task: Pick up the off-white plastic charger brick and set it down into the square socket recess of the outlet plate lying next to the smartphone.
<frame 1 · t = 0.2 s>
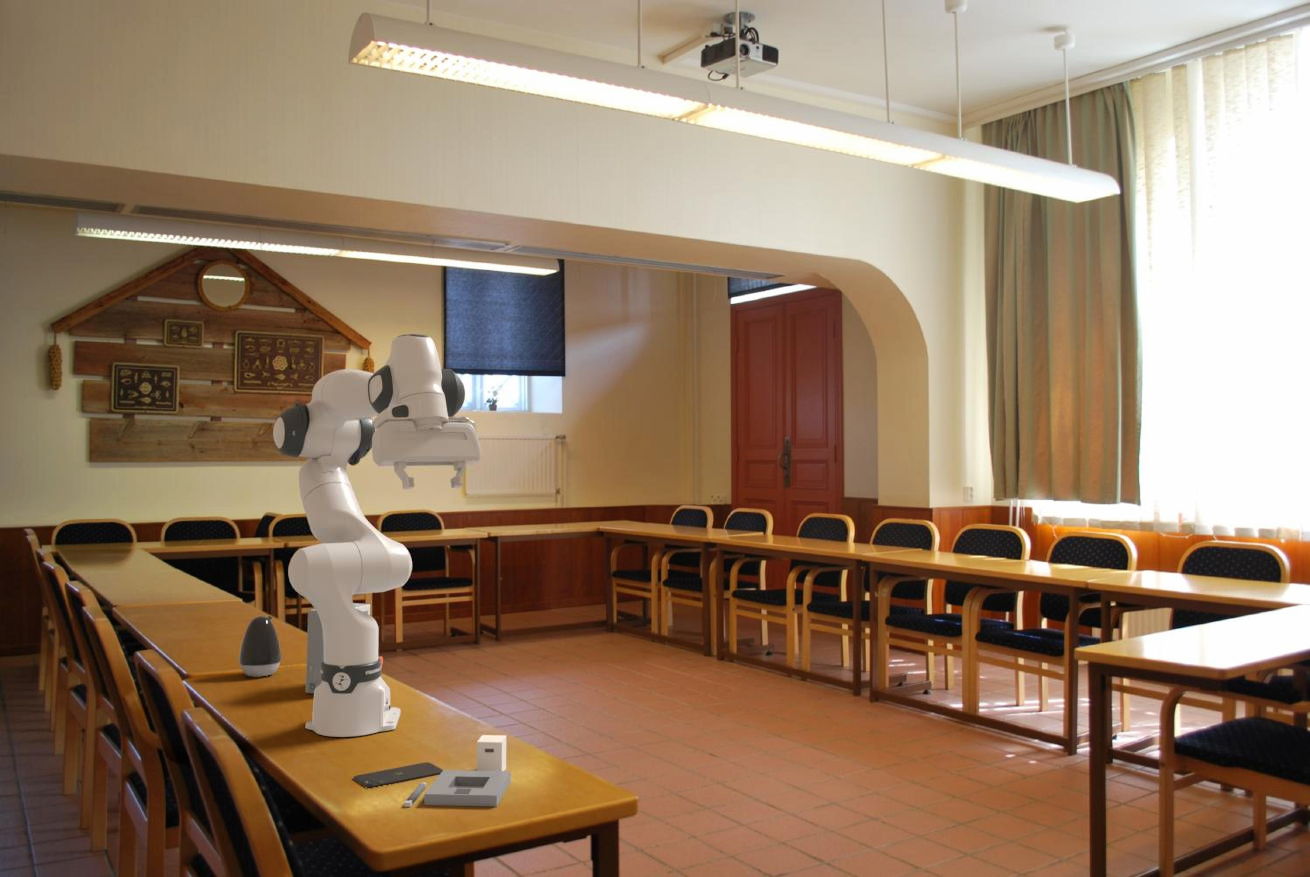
hand: (433, 487, 189), 52 cm above the table, tool tilted 20°, fingers open, 8 cm apart
hard drive box: (338, 689, 254), on the table
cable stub: (415, 797, 176), on the table
grey egg on base: (260, 675, 268), on the table
charger brick: (491, 771, 190), on the table
outlet plate: (469, 792, 178), on the table
smartphone: (399, 778, 187), on the table
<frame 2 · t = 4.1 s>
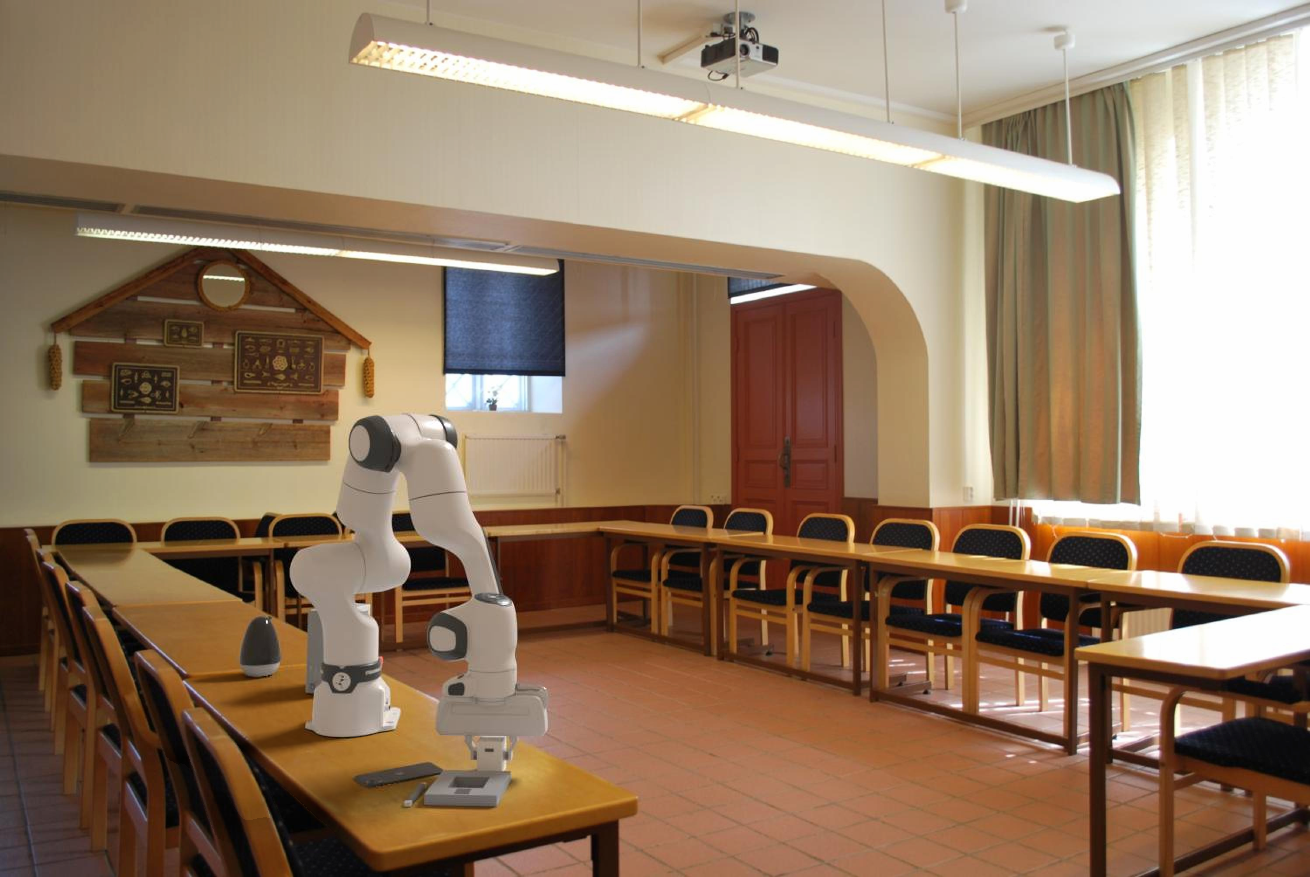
hand: (491, 759, 190), 2 cm above the table, tool pointing down, fingers closed on charger brick, 4 cm apart
charger brick: (491, 771, 190), on the table, touching gripper
everything else where it was.
when the fingers open (3 cm above the table, at t = 8.5 s): charger brick stays where it is, resting on outlet plate.
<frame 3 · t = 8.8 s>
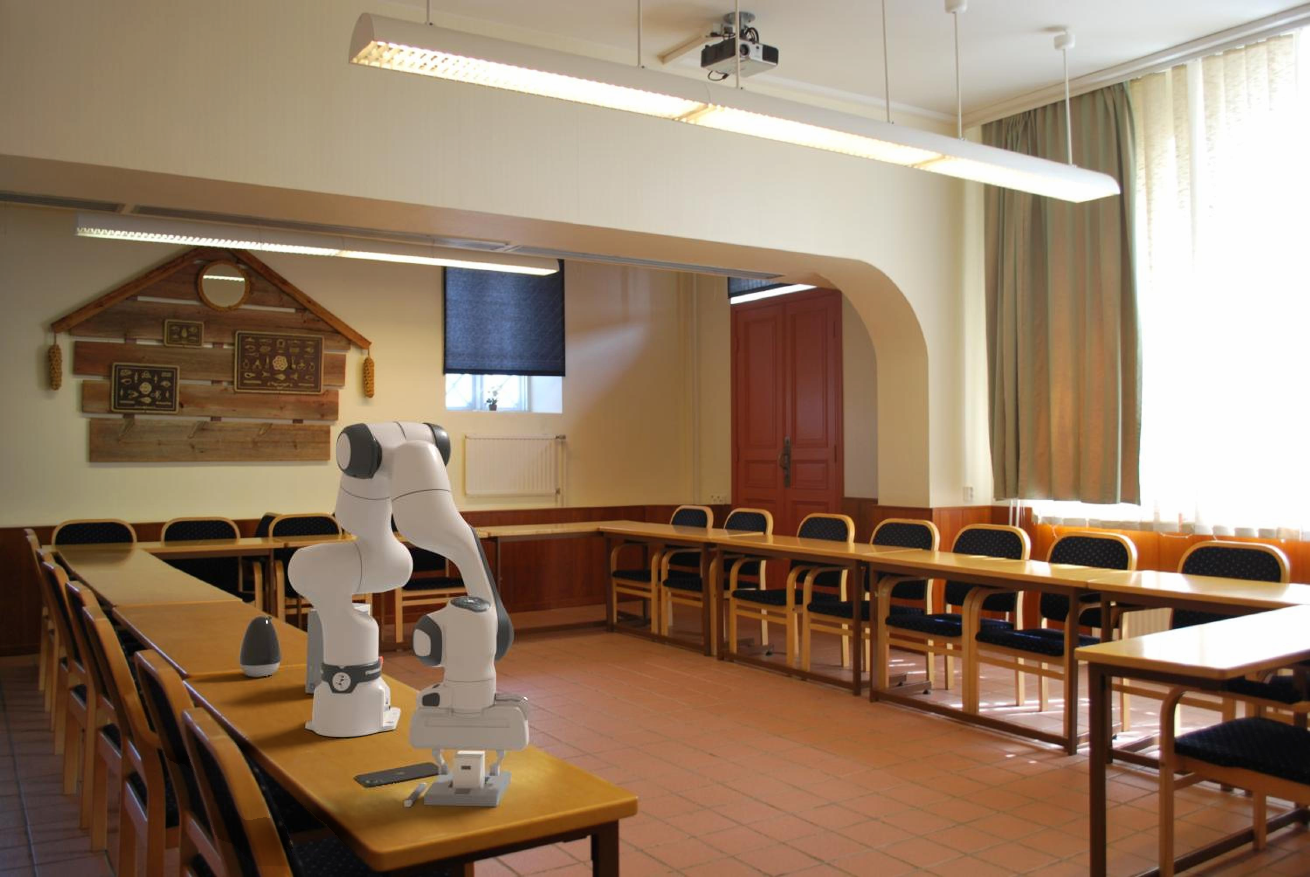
hand: (469, 774, 178), 3 cm above the table, tool pointing down, fingers open, 7 cm apart
charger brick: (468, 790, 178), resting on outlet plate
everything else where it was.
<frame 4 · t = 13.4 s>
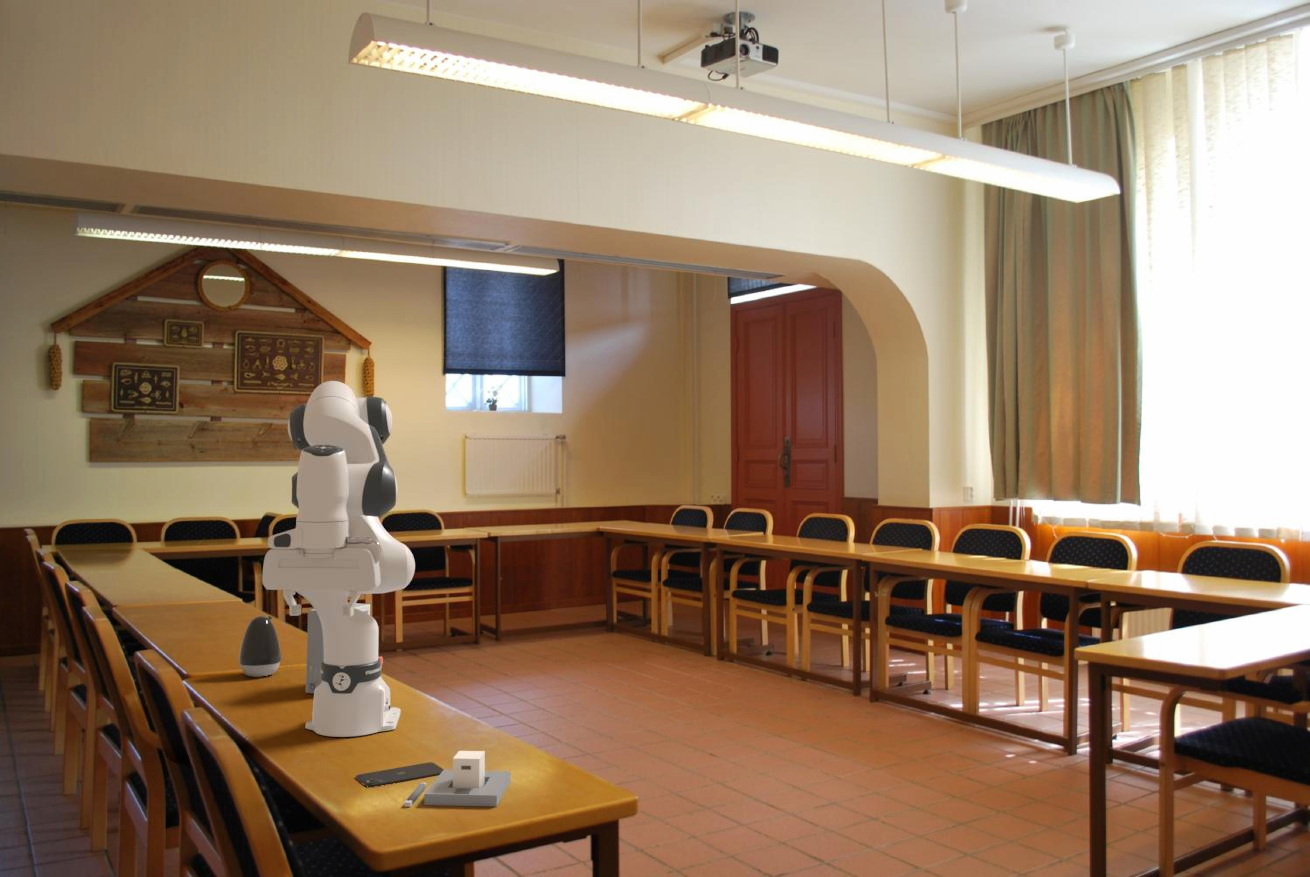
hand: (321, 615, 184), 29 cm above the table, tool pointing down, fingers open, 8 cm apart
nothing on the table moved.
at the end: charger brick 0.1 cm off-centre on the outlet plate, point 0.5 cm above the outlet plate's base; charger brick tilted 0°; the gripper is holding nothing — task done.
